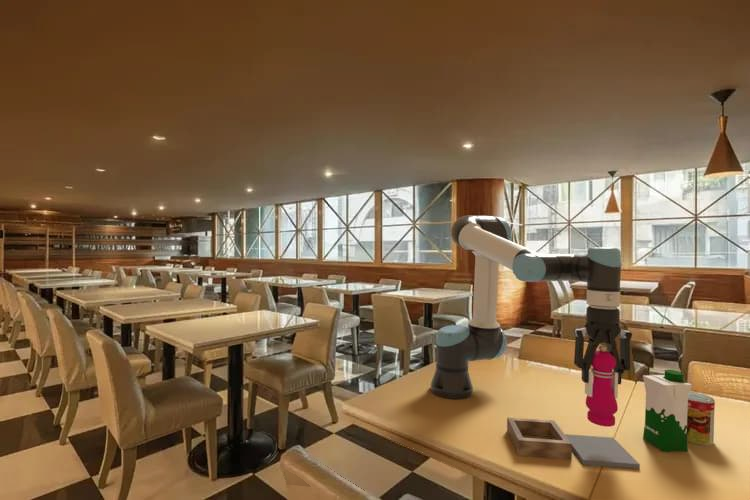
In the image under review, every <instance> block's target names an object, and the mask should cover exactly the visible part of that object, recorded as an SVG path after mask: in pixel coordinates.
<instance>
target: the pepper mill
mask: <svg viewBox="0 0 750 500" xmlns="http://www.w3.org/2000/svg"><path fill="white" fill-rule="evenodd" d="M598 349H599V350H596V352H595V355H594V358H593V361H592V364H591V367H590V370H591V371H592V372H593V388H592V397H589V396H588V395H587V394H586V398H585V406H586V407H587V408H588V411H587V416H586V417H587V420H588V421H589V422H590V423H592V424H594V425H597V426H600V427H606V428H607V427H613V426H615V425H616V416H615V414H616V413H617V412H618V409H619V408H618V401H617V398H615V397H614V394H613V392H612V388H611V379H612V377H613V373H614V372H613V371H612V370H614V368H615V366H616V359H615V357H614V356H613V355H612V354H611V353H609V351H608V347H607V345H606V344H600V345H599V346H598Z"/></svg>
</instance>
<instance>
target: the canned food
mask: <svg viewBox="0 0 750 500" xmlns="http://www.w3.org/2000/svg"><path fill="white" fill-rule="evenodd" d="M715 403H716V400H715V398H713V397H711V396H709V395H707V394H705V393H704V394H703V393H700V392H694V391H690V394H689V398H688V409H687V443H691V444H694V445H698V446H706V447H707V446H708V447H709V446H713V445H714V436H715V434H714V433H715V409H716V407H715Z"/></svg>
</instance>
